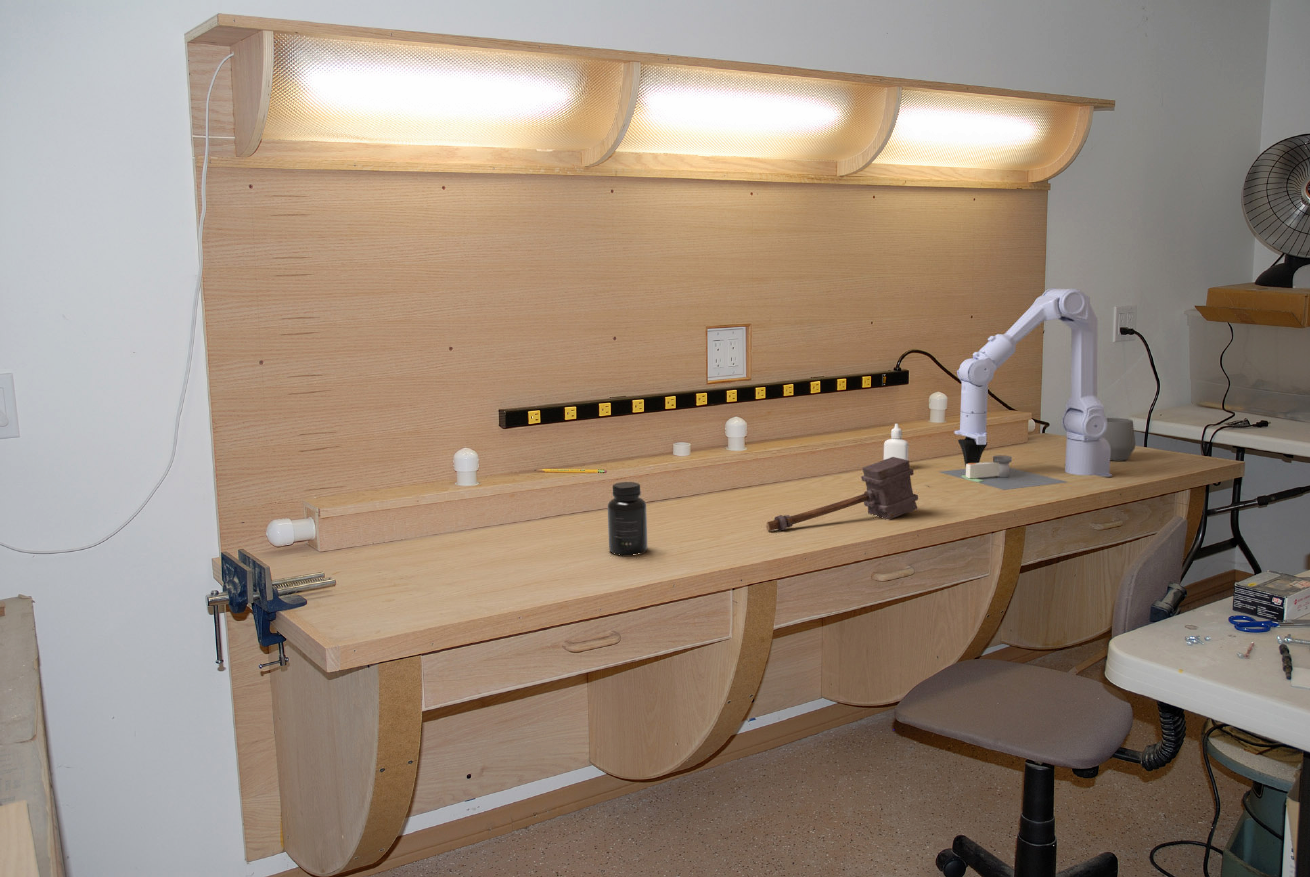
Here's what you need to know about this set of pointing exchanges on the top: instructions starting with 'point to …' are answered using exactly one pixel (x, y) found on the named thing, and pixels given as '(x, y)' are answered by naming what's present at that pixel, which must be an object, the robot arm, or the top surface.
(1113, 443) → the cup
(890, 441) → the eye dropper bottle
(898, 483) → the hammer
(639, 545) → the supplement bottle
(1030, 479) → the dial board
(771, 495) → the top surface
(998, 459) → the peg key
